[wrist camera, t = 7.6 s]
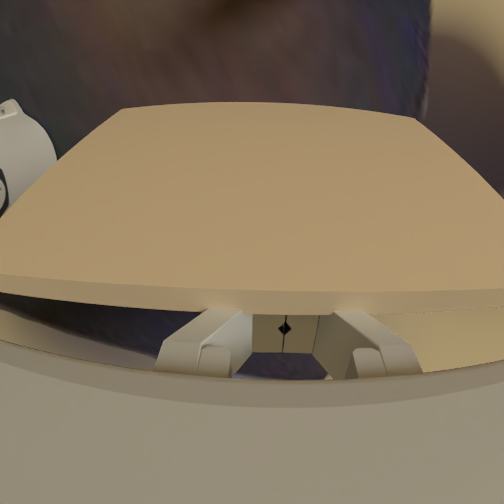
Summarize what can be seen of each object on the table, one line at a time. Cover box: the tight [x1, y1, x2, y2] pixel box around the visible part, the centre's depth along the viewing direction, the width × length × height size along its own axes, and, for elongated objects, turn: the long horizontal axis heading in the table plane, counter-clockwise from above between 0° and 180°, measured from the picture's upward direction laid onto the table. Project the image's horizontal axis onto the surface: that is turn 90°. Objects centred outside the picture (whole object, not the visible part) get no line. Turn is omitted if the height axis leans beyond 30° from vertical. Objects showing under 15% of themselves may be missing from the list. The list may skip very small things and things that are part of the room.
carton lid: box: [0, 102, 504, 315], centre depth 13 cm, size 20×16×1 cm
